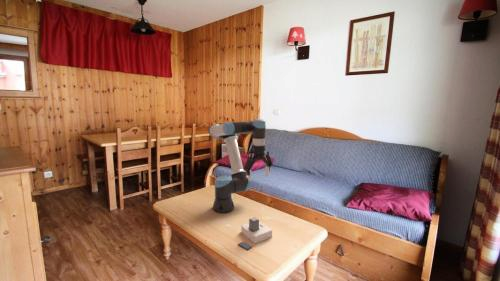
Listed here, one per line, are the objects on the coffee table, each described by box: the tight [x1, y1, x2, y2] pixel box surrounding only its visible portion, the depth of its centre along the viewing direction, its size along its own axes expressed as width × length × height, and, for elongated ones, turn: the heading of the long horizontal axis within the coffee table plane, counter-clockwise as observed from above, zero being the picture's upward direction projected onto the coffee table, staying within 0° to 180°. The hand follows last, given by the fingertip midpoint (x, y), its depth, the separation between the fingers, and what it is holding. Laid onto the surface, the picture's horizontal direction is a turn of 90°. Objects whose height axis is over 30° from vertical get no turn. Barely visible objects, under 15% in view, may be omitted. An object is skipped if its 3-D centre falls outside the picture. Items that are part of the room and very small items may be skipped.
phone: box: [237, 241, 253, 251], centre depth 131 cm, size 7×4×1 cm, turn 50°
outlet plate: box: [240, 220, 273, 244], centre depth 142 cm, size 14×12×4 cm
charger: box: [248, 216, 260, 232], centre depth 140 cm, size 4×4×10 cm
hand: (258, 178), depth 152 cm, fingers open, 13 cm apart
